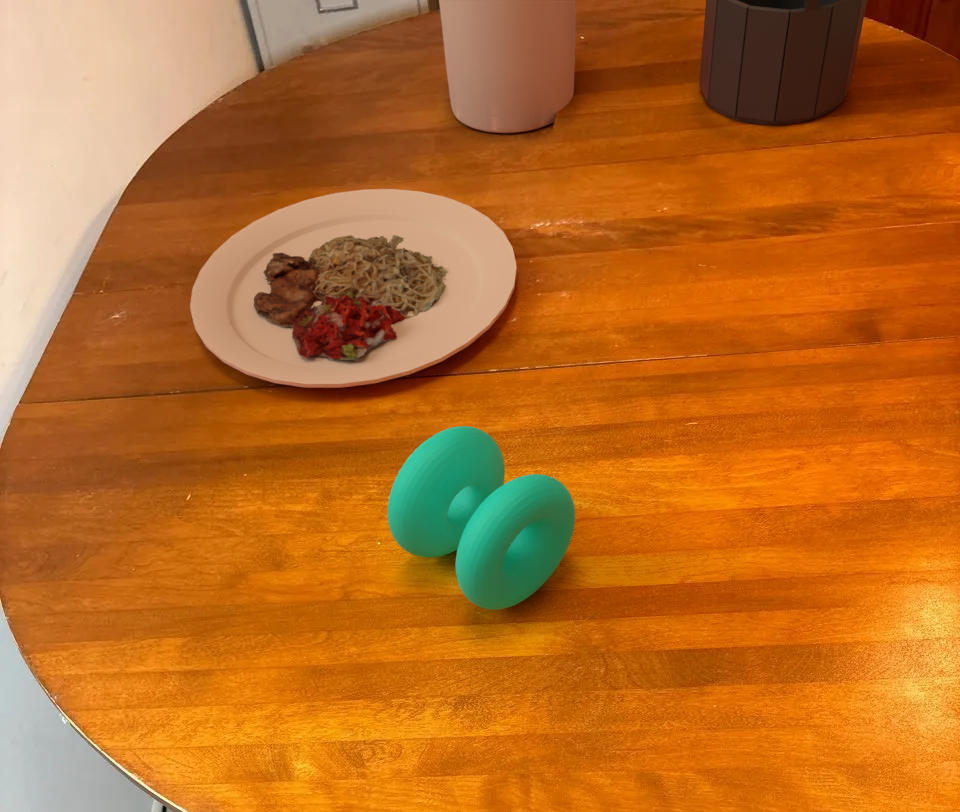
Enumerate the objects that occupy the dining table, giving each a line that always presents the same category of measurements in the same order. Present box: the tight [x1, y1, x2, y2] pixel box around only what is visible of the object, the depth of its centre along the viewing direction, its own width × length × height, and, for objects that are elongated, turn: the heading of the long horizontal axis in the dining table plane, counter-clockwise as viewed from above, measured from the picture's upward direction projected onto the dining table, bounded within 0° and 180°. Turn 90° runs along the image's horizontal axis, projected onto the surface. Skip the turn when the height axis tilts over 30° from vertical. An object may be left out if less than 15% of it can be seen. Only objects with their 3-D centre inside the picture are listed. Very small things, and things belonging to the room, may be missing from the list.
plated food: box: [189, 188, 518, 389], centre depth 97 cm, size 30×30×3 cm
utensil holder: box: [438, 0, 577, 134], centre depth 111 cm, size 15×15×18 cm
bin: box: [698, 0, 868, 126], centre depth 107 cm, size 15×15×14 cm
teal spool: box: [387, 425, 576, 611], centre depth 73 cm, size 10×10×10 cm
